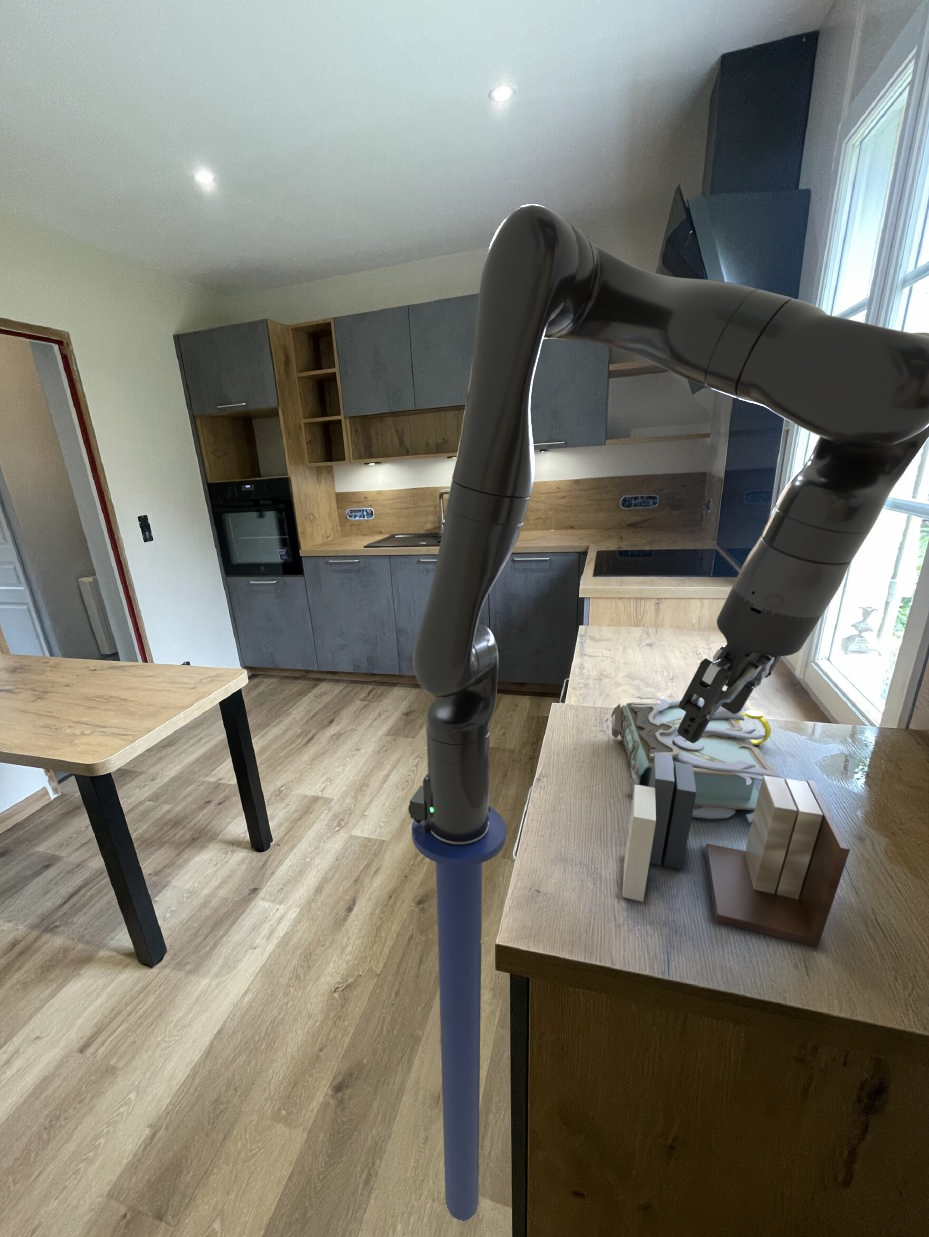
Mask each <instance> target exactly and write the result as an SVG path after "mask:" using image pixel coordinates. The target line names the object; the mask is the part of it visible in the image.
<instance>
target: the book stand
mask: <svg viewBox="0 0 929 1237" xmlns="http://www.w3.org/2000/svg"><path fill="white" fill-rule="evenodd" d="M783 778H784V777H782V778H777V777H770V776H763V778H762V781H761V782H760V786H759V795H758V799H757V803H756V808H755V812H754V816H753V820H752V822H751V823H750V824H751V825H750V828H749V833H748V836H747V841H746V845H745V850H743V849H738V848H733V847H728V846H722V845H718V844H712V843H706V844H705V848H704V852H705V858H706V860H705V861H706V866H707V872H708V879H709V880H708V881H709V886H710V893H711V900H712V905H713V907H712V908H713V914H714V919H715V923H717V924H721V925H724V926H725V925H726V926H730V927H734V928H737V929H738V928H739V929H743V930H747V931H751V932H755V933H760V934H764V935H767V936H772V937H776V938H780V939H784V940H788V941H792V942H796V943H801V944H805V945H809V946H814V947H817V948H818V947H819V946H820V942H821V939H822V937H823V933H824V931H825V927H826V924H827V922H828V918H829V915H830V913H831V909H832V906H833V903H834V900H835V898H836V894H837V891H838V887H839V885H840V883H841V878H842V876H843V873H844V870H845V866H846V863H847V860H848V857H849V855H850V851H851V849H850V846H849V845H848V843H847V841H846V839H845V837H844V836H843V833H842V832H841V830H840V828H839V826H838V823H837V821H836V820H835V818H834V816H833V814H832V812H831V809H830V808H829V807H828V805H827V803H826V801H825V798H824V797H823V795H822V793H821V791H820V789H819V786H817V784H816V781H814V780H811V779H810V780H809V779H807V780H806V781H803V780H797V779H791V778H784V779H785V781H784V779H783Z"/></svg>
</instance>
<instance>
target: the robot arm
mask: <svg viewBox="0 0 929 1237" xmlns="http://www.w3.org/2000/svg"><path fill="white" fill-rule="evenodd" d="M479 283H480V284H479V291H478V299H477V309H476V318H475V319H476V320H475V329H474V340H473V347H472V348H473V349H472V357H471V358H472V360H471V369H470V375H469V384H468V391H467V397H466V402H465V408H464V414H463V419H462V425H461V432H460V438H459V443H458V449H457V453H456V459H455V463H454V468H453V472H452V477H451V483H450V487H449V492H448V498H447V502H446V503H447V504H446V508H445V513H444V514H445V515H444V522H443V528H442V534H441V539H440V543H439V548H438V552H437V557H436V562H435V568H434V573H433V578H432V583H431V587H430V592H429V596H428V599H427V602H426V606H425V609H424V612H423V616H422V619H421V622H420V624H419V628H418V632H417V635H416V637H415V641H414V646H413V651H412V666H413V672H414V675H415V677H416V680H417V683H418V684H419V685H420V687H421V689H423V690H424V691H425V692H426V693H427V694H428V695H431V696H433V697H435V699H433V701H432V703H431V705H430V706H429V708H428V710H427V712H426V714H425V731H426V732H425V734H426V764H427V774H426V775H425V776H424V778H423V780H422V785H420V786H419V787H418V788H417V790H416V791H415V793H414V795H412V797H411V798H410V800H409V805H408V809H407V810H408V814H409V815H410V816H409V817H410V819H412V820H415V821H416V822H417V824H419V823H420V822H422V821H424V824H425V832H426V833H429V834H431V835H432V836H433V837H434V838H435V839H436V840H438V841H439V842H441V843H444V844H447V845H451V846H468V845H472V844H475V843H477V842H479V841H481V840H482V839H483V838H484V837H485V836H486V835H487V833H488V830H489V815H488V812H489V813H490V807H491V806H490V804H489V803H490V802H489V800H490V797H489V796H490V745H491V744H490V741H491V738H490V737H491V736H490V734H491V732H490V731H491V721H492V718H493V715H494V713H495V709H496V705H497V695H498V694H497V693H498V678H499V676H498V675H499V651H498V650H499V649H498V645H497V641H496V638H495V635H494V633H492V630H491V629H490V628H489V627H488V625H486V624H485V623H484V622H483V621H481V620H480V616H481V612H482V609H483V606H484V604H485V601H486V600H487V597H488V595H489V593H490V591H491V590H492V588H493V586H494V585H495V583H496V581H497V579H498V577H499V576H500V574H501V572H502V570H503V569H504V567H505V566H506V564H507V562H508V560H509V559H510V557H511V555H512V553H513V551H514V549H515V547H516V544H517V542H518V540H519V538H520V535H521V532H522V529H523V526H524V523H525V519H526V516H527V511H528V507H529V504H530V499H531V495H532V493H533V492H532V491H533V487H534V482H535V474H536V473H535V469H536V462H535V447H534V435H533V426H532V414H531V405H532V404H531V403H532V398H531V397H532V392H533V391H532V389H533V382H534V377H535V372H536V369H537V364H538V361H539V357H540V353H541V348H542V345H543V341H544V339H545V340H547V339H552V340H553V339H555V340H565V341H574V342H582V343H590V344H595V345H601V346H605V347H609V348H614V349H617V350H620V351H622V352H626V353H629V354H632V355H635V356H637V357H639V358H641V359H644V360H646V361H648V362H650V363H652V364H653V365H656V366H659V367H660V368H661V369H664V370H667V371H668V372H670V373H672V374H675V375H677V376H679V377H681V378H682V379H683V378H684V379H686V380H689V381H691V382H694V383H695V384H698V385H701V386H703V387H706V388H709V389H711V390H714V391H717V392H719V393H722V394H725V395H728V396H731V397H733V398H736V399H739V400H742V401H746V402H748V403H753V404H756V405H759V406H763V407H765V408H767V409H769V411H771V412H773V413H775V414H776V415H778V416H780V417H782V418H783V419H785V420H787V421H789V422H791V423H792V424H794V425H796V426H798V427H800V428H802V429H803V430H806V431H808V432H810V433H813V435H816V436H818V439H817V441H816V443H815V445H813V446H814V447H813V449H812V450H811V452H810V454H809V457H808V458H807V461H805V464H804V465H803V466H802V467H801V469H799V471H798V472H797V473H796V474H795V475H793V476H792V478H791V479H790V480H789V482H788V483H787V485H786V486H785V487H784V489H783V491H782V492H781V494H780V496H779V498H778V500H777V502H776V504H775V505H774V508H773V510H772V512H771V514H770V516H769V518H768V520H767V522H766V524H765V526H764V528H763V530H762V532H761V535H760V536H759V538H758V540H757V541H756V543H755V544H754V545H753V547H752V549H751V550H750V551H749V553H748V555H747V556H746V559H745V560H744V562H743V564H742V566H741V568H740V569H739V570H740V571H739V572H738V574H737V576H736V579H735V580H734V582H733V584H732V587H731V588H730V591H729V593H728V595H727V597H726V599H725V602H724V603H723V605H722V608H721V609H720V612H719V614H718V616H717V618H716V626H717V628H718V630H719V632H720V633H721V634H722V635H723V637H724V638H725V641H726V645H721V646H720V647H719V648H718V649H717V650H716V652H715V653H714V654H713V656H712V660H711V659H709V658H708V657H705V658H703V660H701V661H700V663H699V665H698V667H697V669H696V671H695V673H694V674H693V677H692V679H691V681H690V683H689V685H688V686H687V688H686V690H685V691H684V694H683V696H682V697H681V699H680V700H681V701H680V703H679V706H678V707H679V708H680V709H682V710H684V711H685V712H686V713H685V715H684V717H683V719H682V721H681V723H680V725H679V727H678V729H677V732H678V734H679V735H680V736H682V737H683V738H685V739H686V740H688V741H689V742H691V743H696V742H697V741H698V740H700V738H701V736H702V734H703V732H704V731H705V729H706V727H707V725H708V723H709V722H710V720H711V718H712V717H713V716H714V715H715V712H716V711H717V710H718V709H719V707H720V706H721V707H723V708H724V709H726V710H728V711H729V712H731V713H733V714H737V713H738V712H739V713H741V711H742V709H743V708H744V706H745V705H746V703H747V701H748V700H749V698H750V696H751V694H752V693H753V691H754V690H755V689H756V688H758V687H759V686H761V684H762V681H763V680H764V679H767V678H768V677H770V676H771V675H772V674H773V671H774V669H775V667H776V666H777V664H778V662H779V661H780V659H781V657H788V656H792V655H795V654H797V653H798V652H799V651H800V650H802V648H803V647H804V645H805V643H806V642H807V640H808V639H809V637H810V635H811V634H812V632H813V631H814V629H815V628H816V626H817V624H818V622H819V621H820V619H821V618H822V616H823V614H824V613H825V611H826V610H827V608H828V606H829V605H830V604H831V602H832V600H833V598H834V597H835V595H837V592H838V590H839V589H840V587H841V586H842V583H843V581H844V579H845V576H846V573H847V571H848V570H849V567H850V565H851V563H852V561H853V560H854V558H855V557H856V555H857V554H858V552H859V550H860V549H861V547H862V545H863V544H864V542H865V541H866V539H867V537H868V536H869V534H870V532H871V531H872V529H873V528H874V526H875V524H876V522H877V520H878V518H879V516H880V514H881V512H882V511H883V508H884V506H885V504H886V502H887V500H888V499H889V496H890V494H891V492H892V490H894V488H895V486H896V485H897V483H898V482H899V480H900V478H902V477H903V475H904V473H905V472H906V471H907V469H908V468H909V466H910V465H911V464H912V462H913V461H914V460H915V458H916V457H917V456H918V454H919V452H920V451H921V450H922V448H923V447H924V445H925V444H926V442H927V441H928V440H929V332H908V331H904V330H903V331H902V330H897V329H893V328H889V327H883V326H879V325H875V324H870V323H867V322H863V321H857V320H855V319H850V318H844V317H840V316H835V315H831V314H828V313H827V312H826V311H825V310H823V309H822V308H821V307H819V306H816V305H814V304H813V303H809V302H807V301H803V300H801V299H797V298H793V297H790V296H786V295H784V294H783V295H782V294H779V293H775V292H772V291H768V290H765V289H760V288H758V287H757V288H756V287H752V286H749V285H744V284H739V283H735V282H729V281H723V280H717V279H705V278H690V277H689V278H688V277H677V276H670V275H664V274H661V273H656V272H652V271H649V270H646V269H643V268H641V267H638V266H635V265H633V264H631V263H629V262H626V261H625V260H623V259H621V258H619V257H618V256H616V255H614V254H612V253H611V252H609V251H607V250H606V249H604V248H602V247H600V246H599V245H597V244H596V243H595V242H593V241H592V240H591V238H590V237H589V236H588V235H587V233H585V232H584V231H583V230H581V229H580V228H579V227H577V226H575V225H574V224H572V223H571V222H570V221H568V220H567V219H565V218H564V217H563V216H561V215H559V214H558V213H557V212H555V211H553V210H552V209H550V208H548V207H545V206H542V205H539V204H535V203H533V204H532V203H531V204H530V203H529V204H525V205H521V206H520V207H518V208H516V209H515V210H513V211H512V212H511V213H510V214H509V215H508V216H507V217H506V218H505V219H504V220H503V221H502V223H500V225H499V227H498V228H497V230H496V231H495V234H494V236H493V238H492V240H491V242H490V243H489V247H488V249H487V253H486V255H485V258H484V263H483V267H482V271H481V276H480V282H479ZM724 687H726V689H725V690H724ZM701 699H703V700H704V702H702V701H700V700H701Z"/></svg>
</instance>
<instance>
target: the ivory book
mask: <svg viewBox="0 0 929 1237" xmlns="http://www.w3.org/2000/svg"><path fill="white" fill-rule="evenodd" d="M629 816H630V817H629V822H628V823H629V824H628V831H627V839H626V845H625V853H624V860H623V878H622V898H625V899H628V900H629V899H630V900H633V901H637V902H642V903H643V902H644V900H645V899H644V898H645V894H646V887H647V880H648V874H649V869H650V863H649V862H650V856H651V849H652V843H653V837H654V830H655V824H656V801H655V788H653V787H647V786H641V785H637V784H636V785H635V786H634V793H633V797H632V801H631V808H630V815H629Z"/></svg>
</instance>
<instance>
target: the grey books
mask: <svg viewBox="0 0 929 1237" xmlns="http://www.w3.org/2000/svg"><path fill="white" fill-rule="evenodd" d="M650 787H653V788H655V801H656V824H655V830H654V837H653V843H652V849H651V856H650V862H649V864H654V865H656V866H657V865H658V866H661V864H662V860H663V866H664V867H667V868H673V869H677V870H683V867H684V863H685V862H684V861H685V856H686V850H687V846H688V841H689V836H690V829H691V824H692V820H693V819H692V818H693V816H692V814H693V809H694V803H695V798H696V786H695V779H694V773H693V766H692V764H686V763H679V762H674V768H673V758H672V755H671V754H664V753H657V752H655V753H654V760H653V767H652V773H651V780H650Z"/></svg>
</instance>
